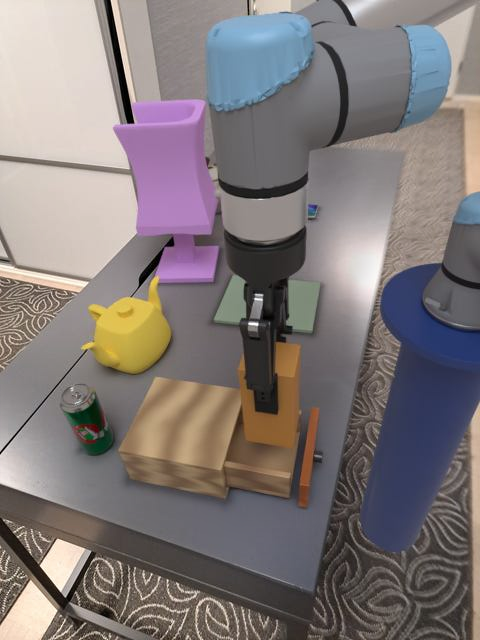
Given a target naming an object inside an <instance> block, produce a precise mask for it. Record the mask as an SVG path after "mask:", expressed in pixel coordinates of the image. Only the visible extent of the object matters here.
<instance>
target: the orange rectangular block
mask: <svg viewBox="0 0 480 640" xmlns="http://www.w3.org/2000/svg"><path fill="white" fill-rule="evenodd" d="M301 348H302V345H301V344H299V343H291V342H286V343H282V342H276V358H275V373H278V414H277V415H275V414H268V413H262V412H255V404H254V392H253V390H249V389H247V386H246V380H245V379H244V377H245V374H246V373H245V361H244V351H243V353H242V356H241V359H240V361H239V365H238V368H237V375H238V376H237V377H238V383H239V389H240V393H241V402H242V411H243V420H244V429H245V438H246V441H252V442H257V443H263V444H269V445H275V446H281V447H287V448H294V442H295V437H296V431H297V425H298V419H299V410H300V392H301V391H300V389H301Z"/></svg>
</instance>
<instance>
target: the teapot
mask: <svg viewBox="0 0 480 640" xmlns="http://www.w3.org/2000/svg"><path fill="white" fill-rule="evenodd" d="M154 277H155V276H154ZM154 277H153V279H151V281H150V284H149V287H148V295H147V301H146V300H144V299H139V298H136V297H130V296H127V297H123V298H120V299H119V300H117V301H115V302H114V303H112V304H111V305H110V306H108V308H106V307H105V306H102V305H100V304H97V303H92V304H90V305H89V306H87V307H88V308H87V311H88V313H89V315H90V316H91V318H92V320H93V321H94V322H95V323H96V324H95V328H94V334H93V341H90V342H86V343H85V344H83V345H82V346H81V348H80V349H81V350H83V351H87V350H90V351H92V353H93V355H94V358H95V359H96V361H97V362H98V363H99V364H100V365H103V366H104V367H108V368H112V369H114V370H117V371H119V372H123V373H127V374H131V375H136V374H137V375H138V374H141V373H143V372H145V371H147V370H148V369H149V368H150V367H152V366H153V365H154V364H156V363H157V362H158V360H160V359H161V357H162V356H163V355H164V353H165V351H166V350H167V348H168V345H169V344H170V341H171V338H172V331H171V327H170V324H169V322H168V320H167V318H166V317H165V316H164V314H163V307H162V302H161V300H160V296H159V292H158V287H159V283H158V282H159V276H156V277H155V278H154Z"/></svg>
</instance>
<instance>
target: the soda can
mask: <svg viewBox="0 0 480 640" xmlns="http://www.w3.org/2000/svg"><path fill="white" fill-rule="evenodd" d="M59 397H60V398H59V406H60V407H59V408H60V409H61V411H62V413H63V416H64V418H65V419H66V421H67V423H68V425H69V427H70V429H71V431H72V433H73V434H74V436H75V438H76V440H77V442H78V443H79V446H80V447H81V449H82V452H84V453H85V454H86V455H90V456H94V455H95V456H97V455H100V454H103V453H105V452H106V451H108V450H109V449H110V448H111V446H112V445H113V443H114V440H115V435H114V432H113V430H112V428H111V425H110V422H109V420H108V417H107V415H106V413H105V411H104V409H103V406H102V403H101V401H100V399H99V397H98V393H97V392H96V390H95V389H94V388H93V387H91V386H90V385H89V384H88V383H84V382H76V383H73V384H70V385H68V386H67V387H66V388H65V389H64V390H63V391H62V392H61V394H60V396H59Z"/></svg>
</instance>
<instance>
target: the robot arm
mask: <svg viewBox="0 0 480 640" xmlns="http://www.w3.org/2000/svg"><path fill="white" fill-rule="evenodd" d="M479 3H480V0H316V1H314V2H312V3H311V4H308V5H306V6H305V7H303V8H301V9H300V10H297V11H295V12H292V11H287V10H286V11H285V10H284V11H279V12H271V13H264V14H249V15H241V16H237V17H232V18H228V19H224V20H222V21H220V22H218V23H216V24H214V25H213V26H212V28H211V29H210V30H209V32H208V33H207V35H206V38H205V45H204V51H205V52H204V53H205V54H204V55H205V60H204V63H205V65H204V66H205V79H206V80H205V81H206V82H205V83H206V105H208V109H209V110H208V111H209V117H210V125H211V133H212V140H213V148H214V154H215V155H214V157H215V163H216V164H217V171H218V172H217V173H218V182H219V188H216V189H215V192H214V195H215V197H216V198H217V199H221V210H222V211H221V218H222V225H223V227H224V230H223V241H224V252H225V259H226V264H227V267H228V268H229V270H230V271H231V272H232V273H233V274H234V275H237V276H239V277H241V278H242V279H244V280H245V281H246V282H245V284H244V290H243V293H244V300H245V302H246V318H241V320H240V322H239V325H238V327H239V331H240V335H241V338H242V347H243V349H242V350H243V352H244V361H245V373H246V374H245V377H244V379H245V380H246V386H247V389H249V390H253V392H254V404H255V412H262V413H268V414H275V415H277V414H278V373H275V358H276V342H282V343H287V336H283V335H289V336H292V335H293V331H292V330H293V326H289V325H286V320H288V318H289V280H290V277H291V276H293V275H295V274H296V273H298V272H299V271H300V270H301V268H302V267H303V266H304V265H305V262H306V257H307V233H308V232H307V225H306V224H307V223H308V219H309V218H308V204H309V186H310V185H309V184H310V183H309V182H310V178H309V167H310V166H309V164H310V153H311V151H316V150H319V149H325V148H329V147H332V146H335V145H340V144H344V143H348V142H352V141H357V140H362V139H366V138H371V137H375V136H379V135H384V134H388V133H389V134H395V133H398V132H400V131H401V130H403V129H405V128H409V127H411V126H412V127H413V126H415V125H418V124H421V123H423V122H426V121H427V120H429V119H430V118H432V117H433V116H434V115H435V114H436V113H437V111H438V110H439V109H440V107H441V106H442V104H443V103H444V101H445V99H446V97H447V94H448V91H449V89H448V88H449V86H450V79H451V76H452V69H453V68H452V67H453V66H452V56H451V53H450V49H449V45H448V44H447V41H446V39H445V37H444V36H443V35H442V34H441V32H440V31H439V30H437V29H436V27H438V26H439V25H442V24H444V23H445V22H447V21H449V20H451V19H452V18H454V17H456V16H458V15H459V14H461V13H463V12H465V11H467V10H469V9H471V8H473V7H474V6H476V5H478V4H479ZM441 263H442V264H441V267H440V269H439V270H438V271H437V273H436V274H435V275H434V277H433V278H432V279H431V281H430V282H429V283H428V285H427V286H426V288H425V290H424V292H423V296H422V306H423V309H424V310H425V312H426V313H427V314H428V315H429V316H430V317H431V318H432V319H433V320H435V321H436V322H438V323H439V324H441V325H443V326H446V327H448V328H451V329H454V330H458V331H462V332H470V333H480V190H478V191H475V192H472V193H469V194H467V195H466V196H465V197H463V198H462V199H461V200H460V202H459V203H458V206H457V209H456V211H455V215H454V216H453V217H452V222H451V227H450V229H449V234H448V237H447V242H446V246H445V249H444V253H443V257H442V261H441Z"/></svg>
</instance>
